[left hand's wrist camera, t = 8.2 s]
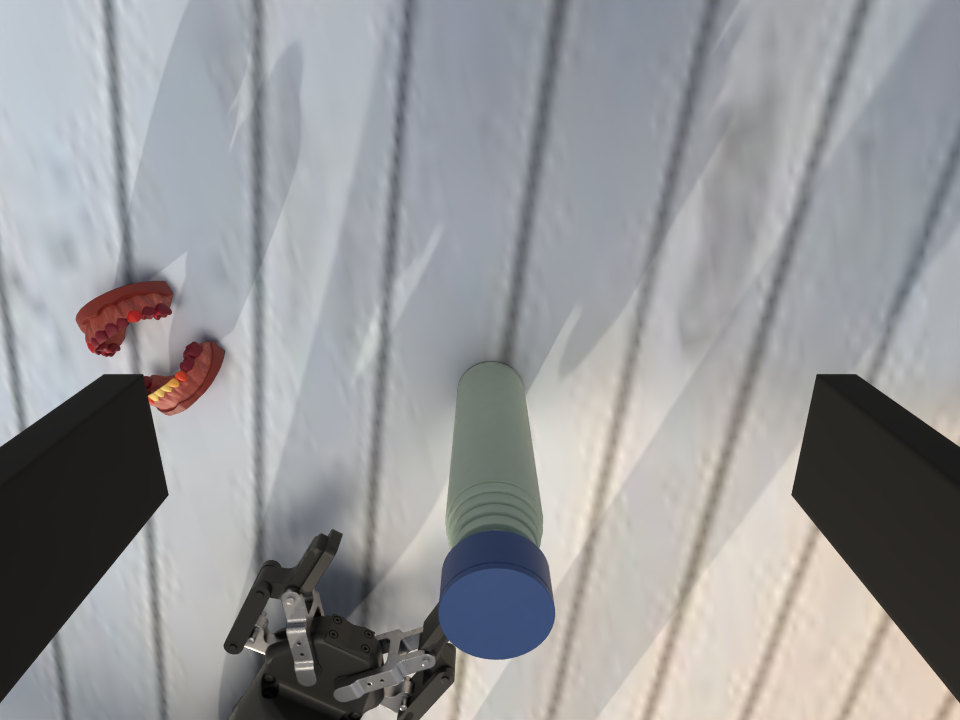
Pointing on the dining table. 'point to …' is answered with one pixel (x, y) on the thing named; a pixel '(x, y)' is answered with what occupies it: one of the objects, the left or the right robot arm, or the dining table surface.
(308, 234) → the dining table surface
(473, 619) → the cap
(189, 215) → the dining table surface
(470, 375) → the bottle
